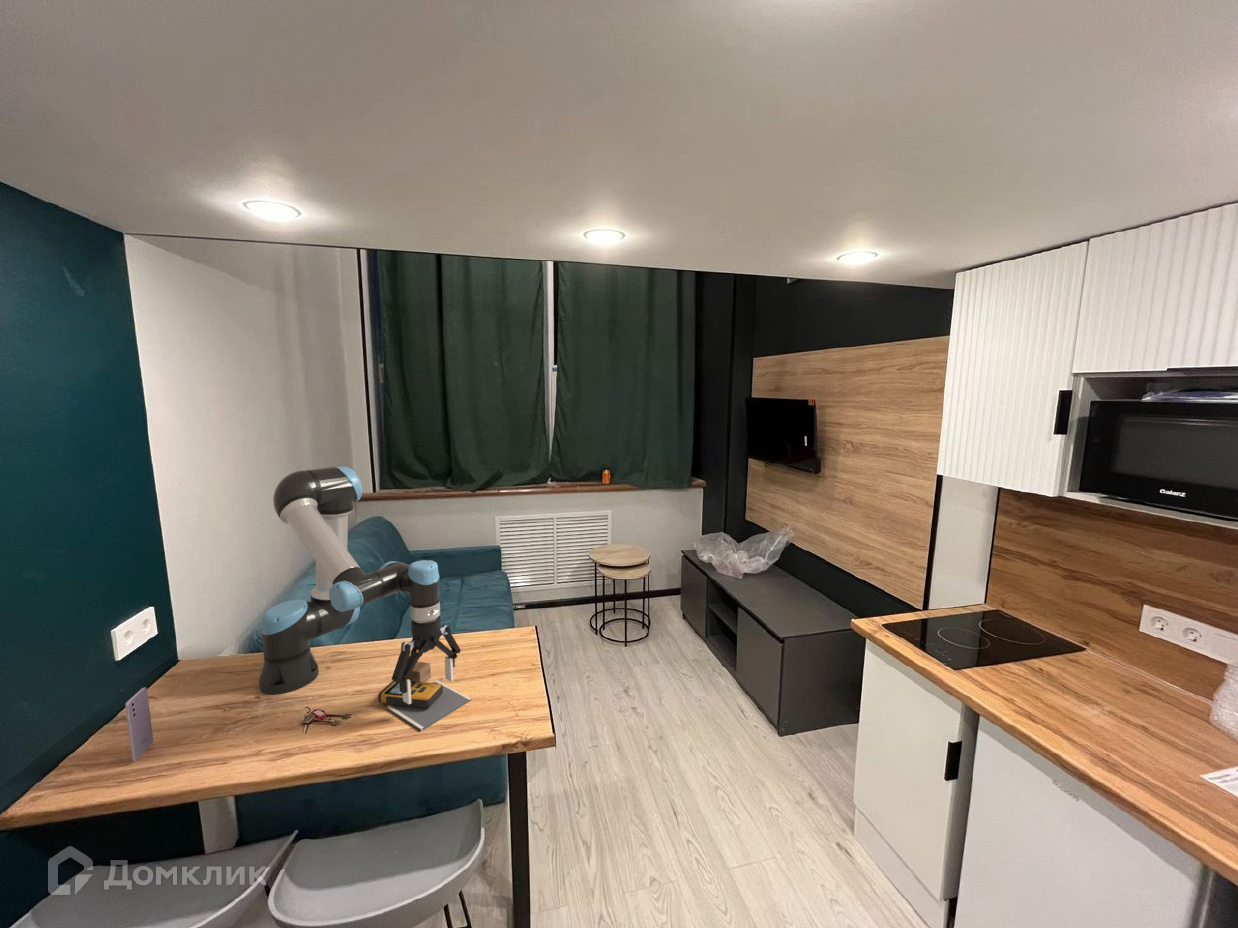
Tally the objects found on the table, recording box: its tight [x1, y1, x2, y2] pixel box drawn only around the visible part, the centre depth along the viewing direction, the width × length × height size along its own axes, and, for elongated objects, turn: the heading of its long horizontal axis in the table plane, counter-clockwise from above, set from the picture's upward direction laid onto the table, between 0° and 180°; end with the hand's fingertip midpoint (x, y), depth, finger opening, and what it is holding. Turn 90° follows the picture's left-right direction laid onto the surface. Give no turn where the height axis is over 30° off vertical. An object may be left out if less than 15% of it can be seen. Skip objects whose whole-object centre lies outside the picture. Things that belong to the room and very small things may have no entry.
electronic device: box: [377, 680, 443, 708], centre depth 139 cm, size 8×16×3 cm, turn 79°
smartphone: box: [124, 687, 154, 762], centre depth 117 cm, size 7×1×15 cm, turn 18°
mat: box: [386, 680, 472, 732], centre depth 137 cm, size 16×16×1 cm
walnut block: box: [408, 661, 432, 683], centre depth 148 cm, size 5×5×5 cm
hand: (429, 690), depth 137 cm, fingers open, 13 cm apart
